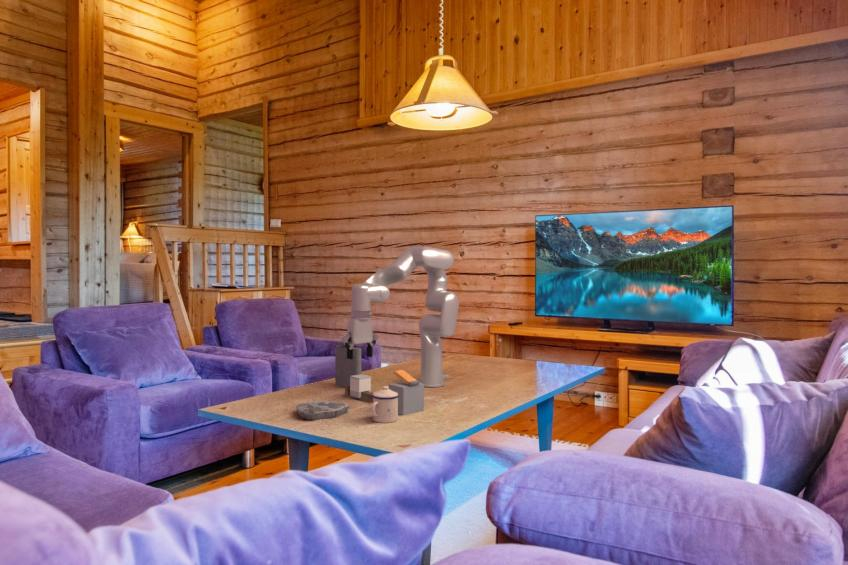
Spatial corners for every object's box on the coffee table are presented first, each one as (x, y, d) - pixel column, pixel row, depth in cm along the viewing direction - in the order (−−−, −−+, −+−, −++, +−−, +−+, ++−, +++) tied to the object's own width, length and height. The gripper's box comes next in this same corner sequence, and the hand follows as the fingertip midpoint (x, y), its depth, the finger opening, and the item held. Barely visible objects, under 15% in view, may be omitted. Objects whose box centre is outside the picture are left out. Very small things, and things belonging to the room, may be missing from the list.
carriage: (361, 393, 242) (361, 374, 242) (370, 395, 238) (370, 376, 237) (349, 395, 238) (349, 376, 238) (359, 398, 233) (359, 378, 233)
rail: (354, 394, 244) (354, 383, 244) (403, 407, 223) (403, 395, 223) (344, 396, 241) (344, 385, 241) (393, 409, 219) (393, 397, 219)
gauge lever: (402, 372, 223) (403, 369, 222) (418, 385, 216) (419, 381, 216) (393, 374, 220) (394, 370, 219) (409, 387, 213) (411, 383, 213)
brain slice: (324, 406, 225) (324, 398, 225) (356, 413, 215) (356, 405, 215) (282, 416, 210) (282, 407, 210) (314, 424, 200) (314, 416, 199)
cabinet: (408, 406, 224) (408, 380, 224) (423, 410, 218) (423, 383, 218) (388, 411, 218) (388, 384, 217) (403, 415, 212) (403, 387, 211)
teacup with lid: (382, 415, 212) (382, 382, 211) (403, 418, 207) (403, 385, 206) (361, 422, 202) (361, 388, 201) (383, 426, 197) (383, 391, 196)
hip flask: (362, 389, 255) (362, 342, 254) (355, 390, 252) (355, 343, 251) (339, 383, 266) (339, 339, 265) (332, 384, 263) (332, 340, 262)
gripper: (371, 313, 245) (370, 354, 246) (337, 315, 233) (336, 358, 234) (383, 315, 240) (382, 357, 240) (348, 316, 228) (347, 361, 228)
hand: (359, 357), depth 237 cm, fingers open, 9 cm apart
